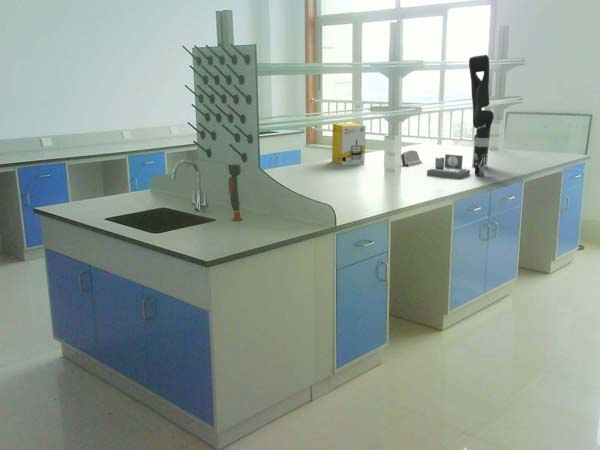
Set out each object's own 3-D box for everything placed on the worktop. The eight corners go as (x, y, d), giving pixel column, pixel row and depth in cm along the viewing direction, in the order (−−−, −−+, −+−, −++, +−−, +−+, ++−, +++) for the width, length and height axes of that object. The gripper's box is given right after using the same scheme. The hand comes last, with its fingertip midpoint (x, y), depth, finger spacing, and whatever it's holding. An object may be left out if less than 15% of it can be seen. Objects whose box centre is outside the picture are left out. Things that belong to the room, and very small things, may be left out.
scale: (437, 171, 367) (438, 153, 364) (469, 174, 356) (471, 156, 353) (426, 175, 354) (428, 156, 351) (459, 178, 343) (461, 159, 340)
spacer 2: (476, 174, 356) (477, 164, 354) (485, 175, 353) (485, 165, 351) (473, 176, 352) (474, 166, 350) (482, 177, 349) (483, 166, 347)
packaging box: (354, 160, 407) (355, 123, 401) (364, 164, 392) (365, 125, 386) (332, 161, 402) (332, 123, 396) (341, 165, 387) (342, 126, 381)
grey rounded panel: (408, 166, 384) (404, 151, 384) (402, 168, 387) (398, 153, 387) (422, 163, 396) (418, 148, 396) (416, 164, 399) (412, 150, 399)
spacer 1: (437, 166, 358) (437, 156, 357) (445, 167, 356) (445, 157, 354) (433, 168, 354) (434, 157, 353) (441, 168, 352) (442, 158, 350)
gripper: (479, 143, 355) (477, 170, 359) (470, 146, 344) (468, 174, 348) (492, 144, 351) (489, 172, 355) (483, 147, 340) (481, 175, 344)
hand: (479, 173), depth 352 cm, fingers open, 8 cm apart
